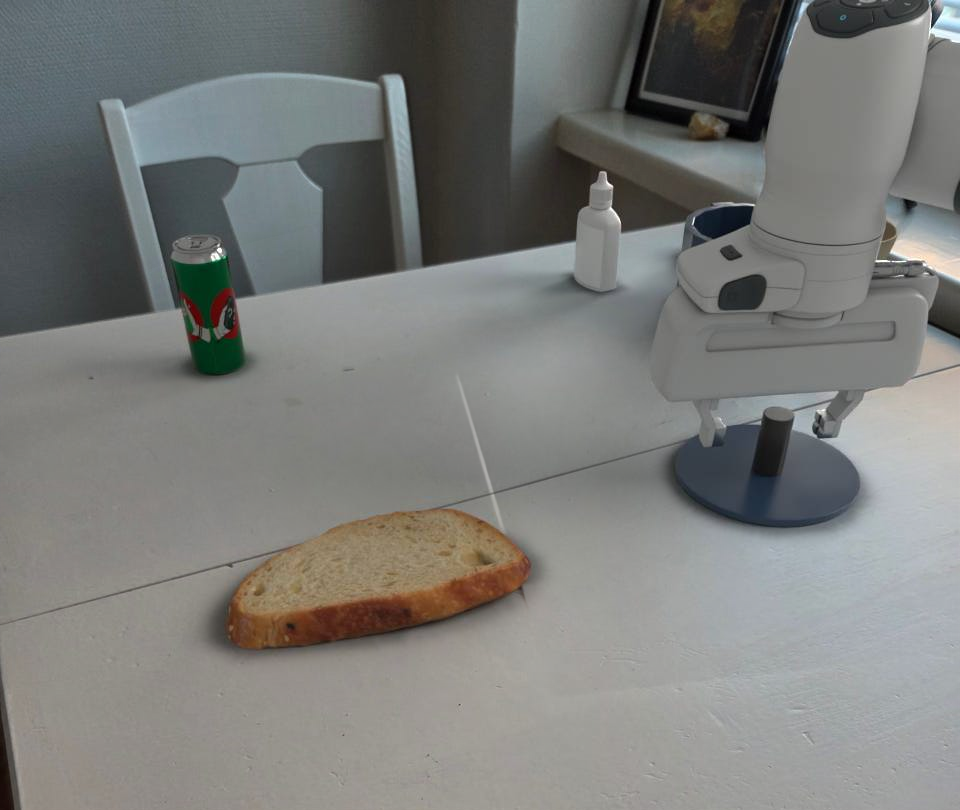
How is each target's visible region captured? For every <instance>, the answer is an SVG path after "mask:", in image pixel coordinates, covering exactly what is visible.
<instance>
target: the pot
mask: <svg viewBox="0 0 960 810" xmlns="http://www.w3.org/2000/svg"><path fill="white" fill-rule="evenodd" d="M754 206H755V203H747V202H739V203H734V202H733V201H725V202H711V203H710V206H708V207H704V208H699V209H697V210H695V211H694V212H692V213H690V214H688V215H687V216H686V219H685V223H684V228H683V236H682V243H681V251H680V254H681V253H682V252H684V251H685V250H687V249H690V248H692V247H695V246H698V245H701V244H703V243H706V242H709V241H712V240H714V239H717V238H719V237H722V236H724V235H727V234H729V233H732V232H734V231H736V230H739V229H741V228H743V227H745V226H747V225H750V222H751V217H752V212H753V209H754ZM679 287H681V284H680V282H679V280H678V279H677V281H676V287H675V288H676V289H678V288H679ZM676 289H675V290H676Z"/></svg>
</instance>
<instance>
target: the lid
mask: <svg viewBox="0 0 960 810" xmlns="http://www.w3.org/2000/svg"><path fill="white" fill-rule="evenodd" d="M761 417H762V418H761V422H760V424H751V423H750V424H749V423H748V424H732V425H731V424H730V425H725V426H726V428H727V431H726V436H725V437H724V438H723V439H724V445H723V446H717V447H704V446H703V445H702V443H701V441H700V438H699V433H698V434H696V435H694V436H693V437H691V438H689V440H687V441H686V442H685V443H684V444H683V445H682V446H681V447H680V449H679V451H678V452H677V455H676V458H675V464H674V465H675V466H674V467H675V476H676V478H677V480H678V483H679V485H680V486H681V487H682V489H683V490H684V491H685V492H686V493H687V494H688V496H690V497H691V498H692V499H694V500H695V501H696V502H698V503H699V504H700V505H702V506H704V507H705V508H707V509H709V510H711V511H713V512H715V513H717V514H720V515H723V516H724V517H727V518H730V519H734V520H736V521H740V522H744V523H748V524H753V525H760V526H769V527H783V528H785V527H789V528H791V527H804V526H810V525H815V524H821V523H824V522H827V521H829V520H833V519H835V518H837V517H838V516H841V515H842V514H843V513H845V512H847V511H848V510H849V509H850V508H851V507H852V505H854V503H855V502H856V500H857V498H858V495H859V492H860V488H861V479H860V474H859V472H858V470H857V468H856V466H855V465H854V463H853V461H851V459H849V457H848V456H847V455H845V454H844V453H843V452H842V451H841V450H839V449H838V448H836V447H835V446H833V445H831V444H830V443H828V442H826V441H825V440H823V439H818V438H817V436H814V435H810V434H808V433H804V432H803V431H802V432H801V431H798V430H794V429H793V425H794V423H795V422H794V421H795V417H796V416H795V412H794V411H792V410H791V409H789V408H787V407H783V406H769V407H767V408H765V409H764V410H763V411H762V416H761Z"/></svg>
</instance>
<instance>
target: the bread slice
mask: <svg viewBox="0 0 960 810" xmlns="http://www.w3.org/2000/svg"><path fill="white" fill-rule="evenodd" d="M531 568H532V563H531V560H530V559H529V557H528V556H527V554H525V553H524V551H522V550H521V549H520V548H519V547H518V546H517V545H516V544H515V543H514V542H513V540H511V539H510V538H509V537H508V536H507V535H505V534H504V533H503V532H502V531H500V530H499V529H498V528H496V527H494V526H493V525H492V524H490V523H488V522H487V521H485V520H483V519H481V518H478V517H477V516H474V515H472V514H469V513H467V512H464V511H462V510H458V509H454V508H435V509H426V510H425V509H424V510H409V511H404V510H403V511H393V512H389V513H387V514H386V513H385V514H376V515H374V516H371V517H368V518H365V519H357V520H352V521H350V522H347V523H343V524H342V523H341V524H339V525H338V526H337V525H336V526H334V527H332V528H330V529H329V530H327V531H325V532H324V533H323V534H321V535H320V536H318V537H315V538H311V539H310V540H307V541H305V542H302V543H300V544H297V545H293V546H290V547H289V548H287V549H285V550H283V551H282V552H280V553H277V554H276V555H273V556H272V557H270V558H268V559H267V560H266V561H265V562H263V563H262V564H261V565H260V566H259V567H257V568H256V569H254V570H253V571H252V572H250V573H249V574H247V575H246V576H245V577H244V579H243V580H242V581H241V583H240V584H239V585H238V587H237V588H236V590H235V591H234V594H233V596H232V598H231V599H230V602H229V605H228V611H227V617H226V625H225V632H226V635H227V637H228V639H229V640H230V641H231V642H232V643H233V644H235V645H236V646H237V647H239V648H241V649H245V650H256V651H257V650H263V649H268V648H274V649H279V648H280V649H281V648H289V647H298V648H300V647H301V648H302V647H308V646H311V645H316V644H330V643H333V642H336V641H340V640H343V639H357V638H360V637H363V636H367V635H374V634H383V633H388V632H392V631H393V632H394V631H396V630H399V629H404V628H410V627H416V626H420V625H423V624H425V623H429V622H434V621H435V622H436V621H442V620H445V619H447V618H450V617H453V616H455V615H458V614H460V613H463V612H467V611H471V610H473V609H475V608H477V607H479V606H481V605H483V604H486V603H489V602H492V601H496V600H498V599H501V598H503V597H506V596H508V595H510V594H513V593H514V592H515V591H517V590H518V589H520V588H521V587H522V586H523V584H525V582H527V580H528V578H529V575H530V570H531Z"/></svg>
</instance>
